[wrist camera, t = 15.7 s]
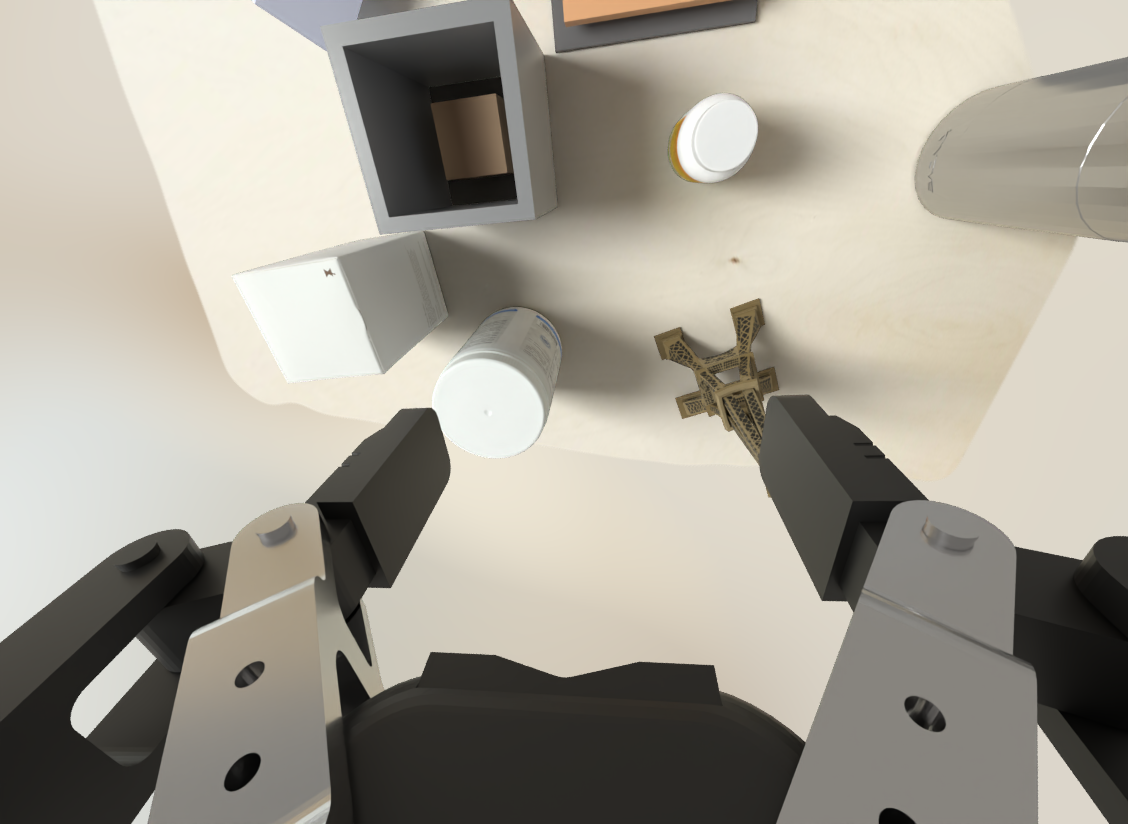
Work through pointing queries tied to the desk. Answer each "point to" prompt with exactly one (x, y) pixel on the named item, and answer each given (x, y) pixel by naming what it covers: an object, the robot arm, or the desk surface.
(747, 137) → the supplement bottle
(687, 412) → the eiffel tower
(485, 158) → the walnut block
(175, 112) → the desk surface
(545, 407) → the supplement tub
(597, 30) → the rubber mat
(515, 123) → the storage box
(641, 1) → the lid
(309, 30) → the wedge on round base
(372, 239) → the supplement box
